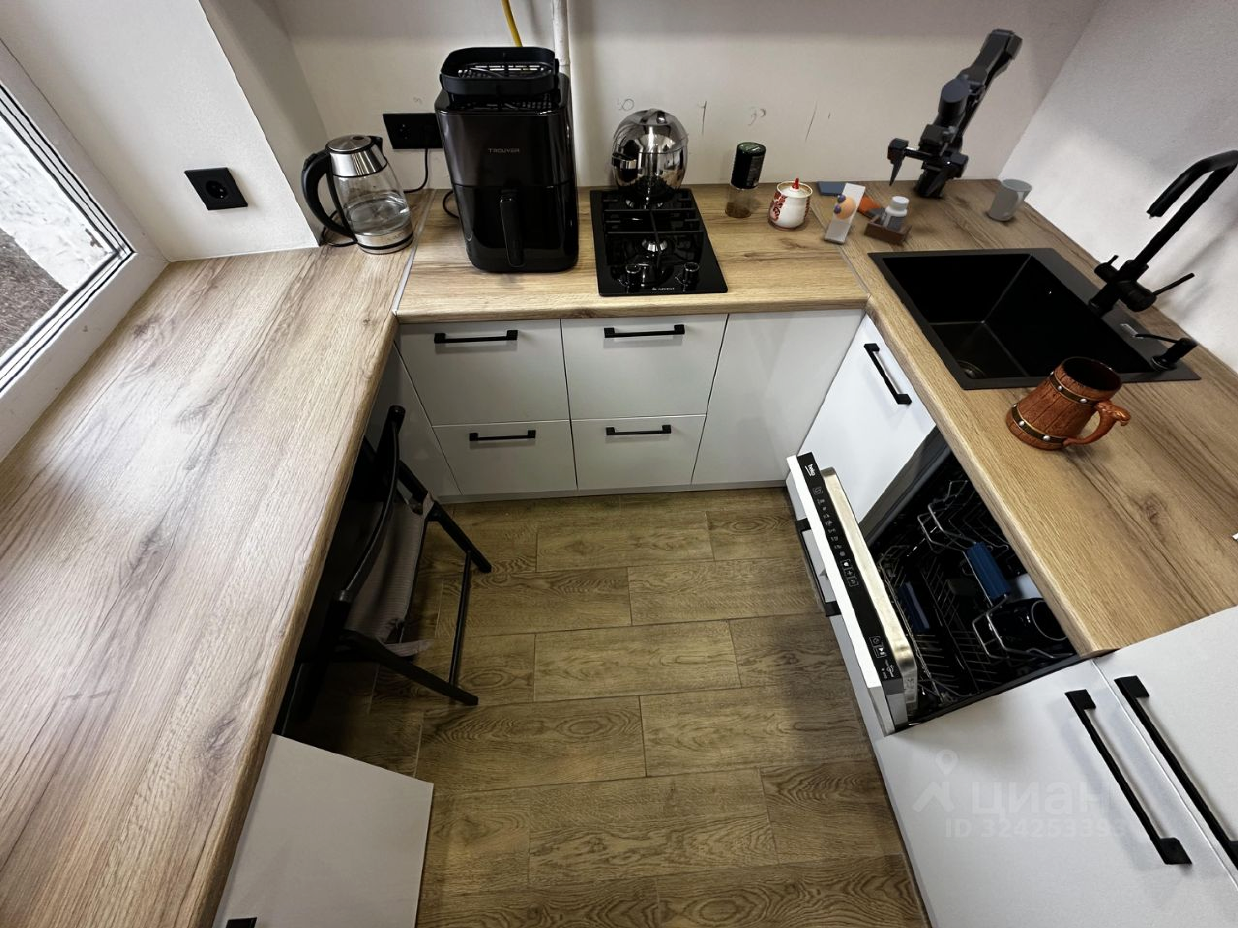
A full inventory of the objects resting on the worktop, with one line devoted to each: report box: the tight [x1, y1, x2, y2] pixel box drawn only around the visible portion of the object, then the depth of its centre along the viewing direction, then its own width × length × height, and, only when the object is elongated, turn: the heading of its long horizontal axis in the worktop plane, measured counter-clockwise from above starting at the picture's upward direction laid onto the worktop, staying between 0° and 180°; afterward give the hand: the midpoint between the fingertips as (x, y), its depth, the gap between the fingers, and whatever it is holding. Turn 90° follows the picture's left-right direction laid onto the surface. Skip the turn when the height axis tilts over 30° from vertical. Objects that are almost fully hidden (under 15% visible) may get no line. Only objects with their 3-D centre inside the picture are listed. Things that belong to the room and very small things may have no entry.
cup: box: [987, 178, 1033, 222], centre depth 142 cm, size 8×10×8 cm
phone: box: [857, 196, 886, 225], centre depth 145 cm, size 6×1×15 cm
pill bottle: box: [878, 195, 910, 232], centre depth 135 cm, size 5×5×9 cm
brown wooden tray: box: [863, 215, 913, 246], centre depth 137 cm, size 6×9×3 cm
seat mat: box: [816, 180, 864, 198], centre depth 155 cm, size 12×8×1 cm, turn 84°
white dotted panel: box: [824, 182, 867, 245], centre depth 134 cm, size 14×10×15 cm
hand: (907, 190), depth 132 cm, fingers open, 9 cm apart
